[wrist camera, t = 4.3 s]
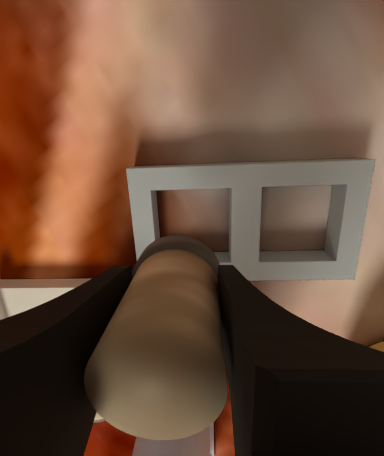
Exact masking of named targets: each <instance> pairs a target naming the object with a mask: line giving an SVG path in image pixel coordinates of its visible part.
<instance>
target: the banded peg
mask: <svg viewBox="0 0 384 456" xmlns="http://www.w3.org/2000/svg"><path fill="white" fill-rule="evenodd" d="M218 265H220V264H219V261H218V259H217V257H216V255H215V254H214V252H213V251H212V250H211V249H210V248H209V247H208V246H207V245H206V244H204V243H203V242H201V241H200V240H198V239H196V238H193V237H190V236H185V235H169V236H164V237H162V238H159V239H157V240H155V241H153V242H152V243H151V244H149V245H148V246H147V247H146V248H145V249H144V251H143V252H142V254H141V255H140V257H139V259H138V261H137V262H136V264H135V266H134V267H133V270H132V281H131V283H130V285H129V287H128V289H127V290H126V292H125V294H124V296H123V298H122V300H121V302H120V303H119V305H118V307H117V309H116V311H115V313H114V315H113V316H112V318H111V320H110V322H109V324H108V326H107V328H106V329H105V331H104V333H103V335H102V337H101V339H100V341H99V342H98V344H97V346H96V348H95V350H94V352H93V354H92V355H91V357H90V359H89V361H88V363H87V366H86V369H85V374H84V385H85V391H86V394H87V397H88V399H89V401H90V403H91V404H92V406H93V407H94V409H95V410H96V411H97V412H98V414H99V415H100V416H101V417H102V418H103V419H105V420H106V421H107V422H108V423H110V424H111V425H112V426H114V427H116V428H118V429H119V430H121V431H123V432H126V433H128V434H131V435H134V436H137V437H141V438H145V439H151V440H174V439H180V438H185V437H188V436H191V435H194V434H196V433H198V432H200V431H202V430H204V429H205V428H207V427H208V426H210V425H211V424H212V423H213V422H214V421H215V420H216V419H217V418H218V417H219V415H220V414H221V412H222V411H223V408H224V406H225V403H226V400H227V392H228V390H227V378H226V368H225V357H224V346H223V335H222V324H221V313H220V302H219V292H218Z"/></svg>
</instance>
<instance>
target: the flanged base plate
mask: <svg viewBox="0 0 384 456" xmlns="http://www.w3.org/2000/svg"><path fill="white" fill-rule="evenodd" d="M90 279H92V278H83V279H0V320H1V319H4V318H7V317H10V316H13V315H16V314H18V313H21V312H24V311H26V310H29V309H31V308H34V307H36V306H39V305H41V304H43V303H46V302H48V301H50V300H52V299H54V298H56V297H58V296H60V295H62V294H64V293H66V292H68V291H70V290H72V289H74V288H76V287H78V286H80V285H81V284H83V283H85V282H87V281H89V280H90Z"/></svg>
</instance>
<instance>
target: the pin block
mask: <svg viewBox="0 0 384 456" xmlns="http://www.w3.org/2000/svg"><path fill="white" fill-rule="evenodd" d="M374 165H375V160H374V159H362V158H347V159H320V160H293V161H267V162H240V163H213V164H186V165H159V166H134V167H131V168H127V169H126V171H127V180H128V188H129V197H130V206H131V214H132V223H133V232H134V241H135V249H136V258H137V261H138V259H139V257H140V255H141V254H142V252H143V251H144V249H145V248H146V247H147V246H148V245H149V244H151V243H152V242H153V241H155V240H157V239H159V238H160V231H159V219H158V207H157V194H156V190H181V189H213V188H229V252H214V254H215V255H216V257H217V259H218V261H219V264H220V265H234V266H235V267H236V268H237V269H238V271H239V272H240V273H241V274H242V275H243V276H244V277H245V278H246V279H247V280H248V281H265V280H355V275H356V270H357V264H358V258H359V252H360V246H361V241H362V235H363V229H364V223H365V217H366V212H367V206H368V200H369V194H370V188H371V183H372V177H373V171H374ZM308 185H332V192H331V200H330V208H329V215H328V223H327V231H326V239H325V247H324V250H314V251H259V244H260V221H261V198H262V187H276V186H308Z"/></svg>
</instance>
